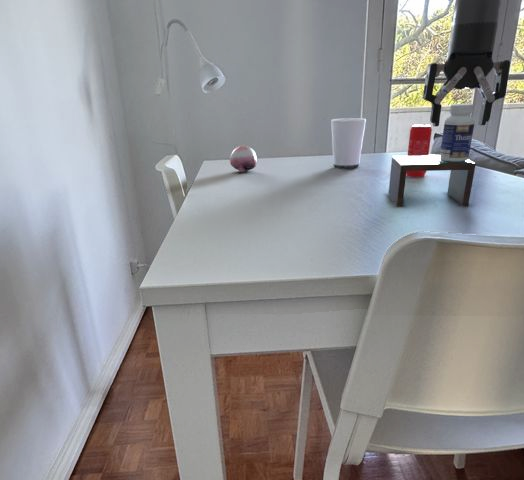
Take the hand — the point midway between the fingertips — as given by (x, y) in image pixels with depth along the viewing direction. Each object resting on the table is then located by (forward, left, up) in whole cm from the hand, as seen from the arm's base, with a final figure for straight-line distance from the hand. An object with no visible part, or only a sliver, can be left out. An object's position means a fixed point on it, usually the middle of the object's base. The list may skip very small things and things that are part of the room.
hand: (458, 125), depth 90 cm
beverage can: (+1, -31, -15) cm, 34 cm away
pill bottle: (0, 0, -6) cm, 6 cm away
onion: (+48, -43, -15) cm, 66 cm away
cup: (+18, -48, -15) cm, 53 cm away
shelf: (+4, -3, -14) cm, 15 cm away
